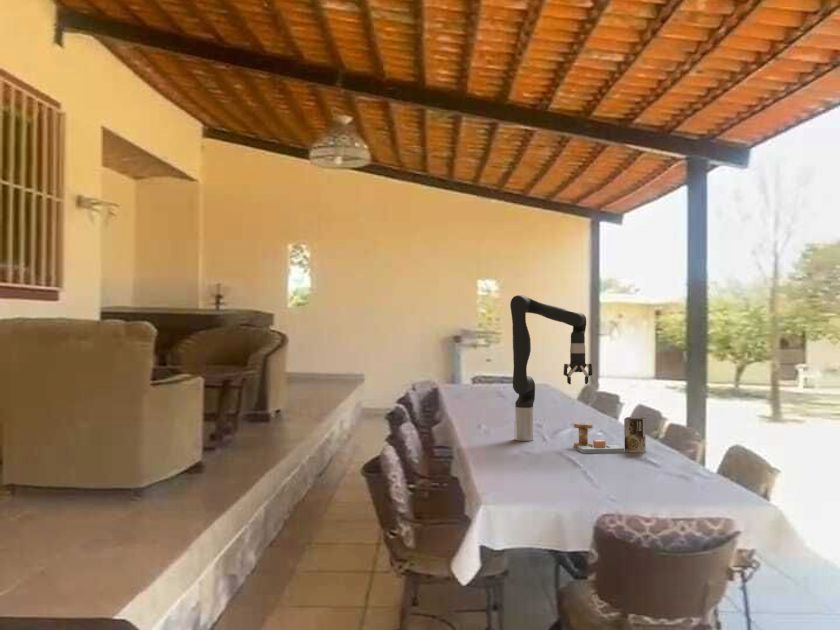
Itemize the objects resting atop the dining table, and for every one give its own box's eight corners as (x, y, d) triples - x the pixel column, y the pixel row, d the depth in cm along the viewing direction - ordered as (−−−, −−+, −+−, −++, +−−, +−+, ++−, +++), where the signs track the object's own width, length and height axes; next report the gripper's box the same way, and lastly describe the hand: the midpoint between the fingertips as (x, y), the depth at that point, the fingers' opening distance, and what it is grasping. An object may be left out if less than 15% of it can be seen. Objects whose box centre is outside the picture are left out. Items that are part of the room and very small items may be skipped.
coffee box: (646, 451, 417) (645, 417, 417) (643, 453, 412) (643, 419, 411) (626, 450, 421) (626, 416, 421) (624, 452, 415) (623, 418, 415)
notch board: (583, 453, 412) (583, 449, 412) (577, 450, 422) (577, 445, 422) (624, 452, 414) (624, 448, 414) (617, 449, 424) (617, 445, 424)
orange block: (596, 451, 417) (596, 441, 417) (593, 450, 421) (593, 440, 421) (605, 451, 417) (605, 441, 417) (602, 450, 422) (602, 439, 422)
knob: (576, 448, 427) (576, 425, 427) (571, 445, 436) (571, 423, 436) (594, 447, 428) (594, 425, 428) (589, 444, 437) (589, 422, 437)
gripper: (566, 352, 436) (566, 385, 436) (593, 352, 438) (593, 384, 438) (562, 351, 444) (562, 383, 444) (589, 351, 445) (589, 383, 445)
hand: (577, 384), depth 441 cm, fingers open, 8 cm apart
